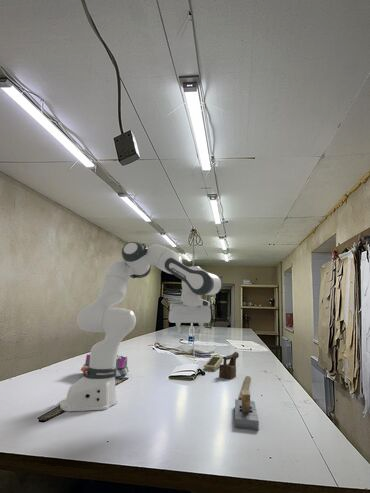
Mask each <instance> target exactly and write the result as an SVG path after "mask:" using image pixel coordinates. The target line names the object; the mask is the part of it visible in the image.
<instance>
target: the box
mask: <svg viewBox="0 0 370 493" xmlns="http://www.w3.org/2000/svg"><path fill="white" fill-rule="evenodd" d="M222 363H223V357H222V356H213V355H211V357H210V358H209V359H208V360H207V361H206V362H205V363H204V365H203V369H204V371H206V372H207V373H212V372H216V371H217V370H218V369H219V366H220V365H222Z"/></svg>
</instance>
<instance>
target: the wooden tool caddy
mask: <svg viewBox="0 0 370 493" xmlns="http://www.w3.org/2000/svg"><path fill="white" fill-rule="evenodd" d="M239 356H240V355H239V353H238V351H234V352H233V353H232V354H230V355H229V354H228V355H226V356H223V357H222V360H223V361H222V363H223V364H220V365H219V367H218V369H219V371H218V377H219V378H224V379H226V380H227V379H229V380H233V379H235V378H236V377H237V364H236V363H237V359H238V358H239ZM227 361H229V363H227Z"/></svg>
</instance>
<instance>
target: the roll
mask: <svg viewBox="0 0 370 493" xmlns="http://www.w3.org/2000/svg"><path fill="white" fill-rule="evenodd" d="M251 380H252V378H251V376H250V375H246V376H245V377H244V379H243V382H242V386H241V388H240V392H239V395H238V398H237V400H242V390H246V391H250V385H251V382H252V381H251Z"/></svg>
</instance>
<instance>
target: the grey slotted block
mask: <svg viewBox="0 0 370 493" xmlns="http://www.w3.org/2000/svg"><path fill="white" fill-rule="evenodd" d="M234 411H235V412H234V417H235V418H234V421H235V427H234V428H236V429H243V430H250V431H251V430H252V431H259V428H260V426H259V425H260V421H259V416H258V410H257V407H256V402H255V400H250V413H249V412H242V400H238V398H237V399H235V400H234Z"/></svg>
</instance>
